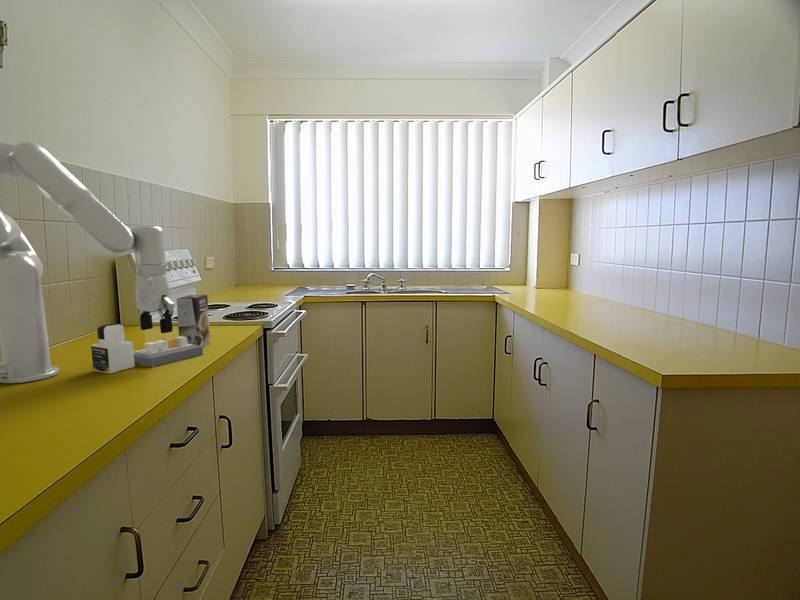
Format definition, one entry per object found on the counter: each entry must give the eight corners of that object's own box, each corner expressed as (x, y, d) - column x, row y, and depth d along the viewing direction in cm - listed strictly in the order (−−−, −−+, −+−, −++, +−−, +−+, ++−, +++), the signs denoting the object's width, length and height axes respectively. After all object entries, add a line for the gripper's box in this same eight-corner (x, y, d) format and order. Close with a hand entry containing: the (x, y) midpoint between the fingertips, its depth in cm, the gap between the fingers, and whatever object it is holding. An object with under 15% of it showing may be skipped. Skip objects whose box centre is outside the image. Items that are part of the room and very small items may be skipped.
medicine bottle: (92, 371, 130) (88, 326, 128) (119, 364, 136) (115, 321, 134) (109, 374, 126) (105, 328, 125) (135, 367, 132) (131, 323, 131)
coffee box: (199, 349, 152) (196, 297, 150) (179, 349, 153) (175, 298, 150) (211, 342, 161) (208, 294, 159) (192, 343, 162) (188, 294, 159)
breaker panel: (151, 367, 132) (149, 347, 132) (126, 361, 139) (125, 342, 138) (202, 354, 146) (201, 336, 145) (178, 349, 152) (177, 332, 151)
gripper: (121, 270, 138) (126, 330, 141) (156, 272, 129) (161, 336, 131) (147, 268, 145) (152, 325, 147) (182, 270, 135) (187, 331, 138)
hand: (156, 330), depth 139 cm, fingers open, 9 cm apart
